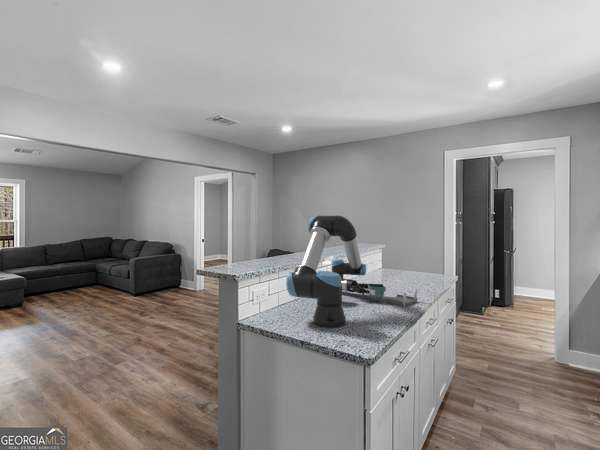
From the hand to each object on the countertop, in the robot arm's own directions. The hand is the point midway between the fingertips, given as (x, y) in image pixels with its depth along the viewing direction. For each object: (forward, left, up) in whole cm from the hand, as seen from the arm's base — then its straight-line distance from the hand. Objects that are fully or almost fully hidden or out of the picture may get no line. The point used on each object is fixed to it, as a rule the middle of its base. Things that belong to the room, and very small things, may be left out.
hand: (380, 291), depth 189 cm
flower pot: (0, +3, -6) cm, 7 cm away
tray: (+6, -10, -6) cm, 13 cm away
